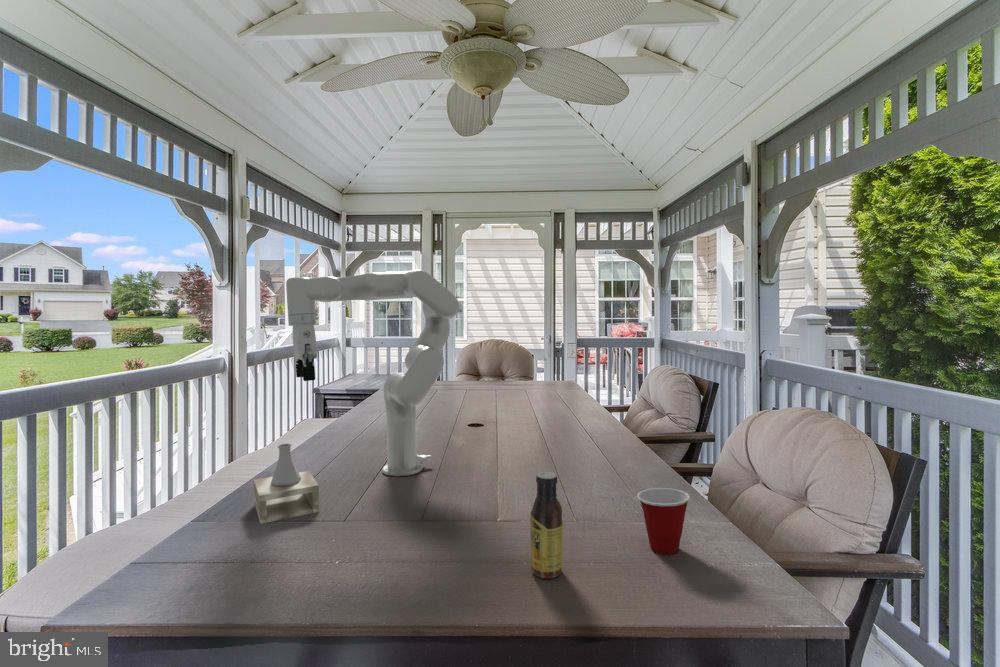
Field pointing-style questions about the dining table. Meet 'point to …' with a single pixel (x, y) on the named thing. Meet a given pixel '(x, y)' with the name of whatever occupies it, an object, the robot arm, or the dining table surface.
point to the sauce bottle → (546, 528)
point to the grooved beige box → (286, 498)
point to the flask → (285, 468)
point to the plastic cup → (664, 517)
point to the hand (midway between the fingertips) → (305, 378)
